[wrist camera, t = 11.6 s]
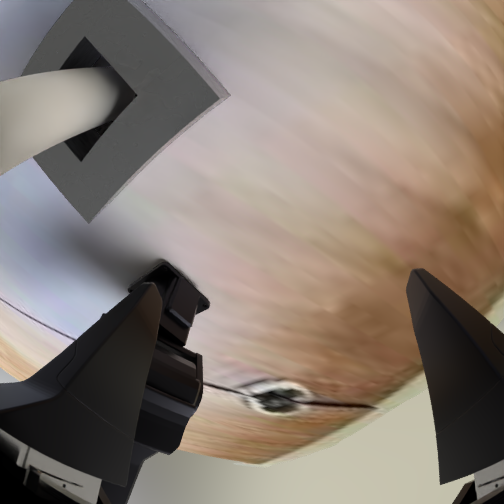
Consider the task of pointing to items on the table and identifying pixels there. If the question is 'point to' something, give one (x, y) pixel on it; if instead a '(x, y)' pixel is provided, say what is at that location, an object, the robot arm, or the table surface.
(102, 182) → the collar
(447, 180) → the table surface
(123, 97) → the peg
